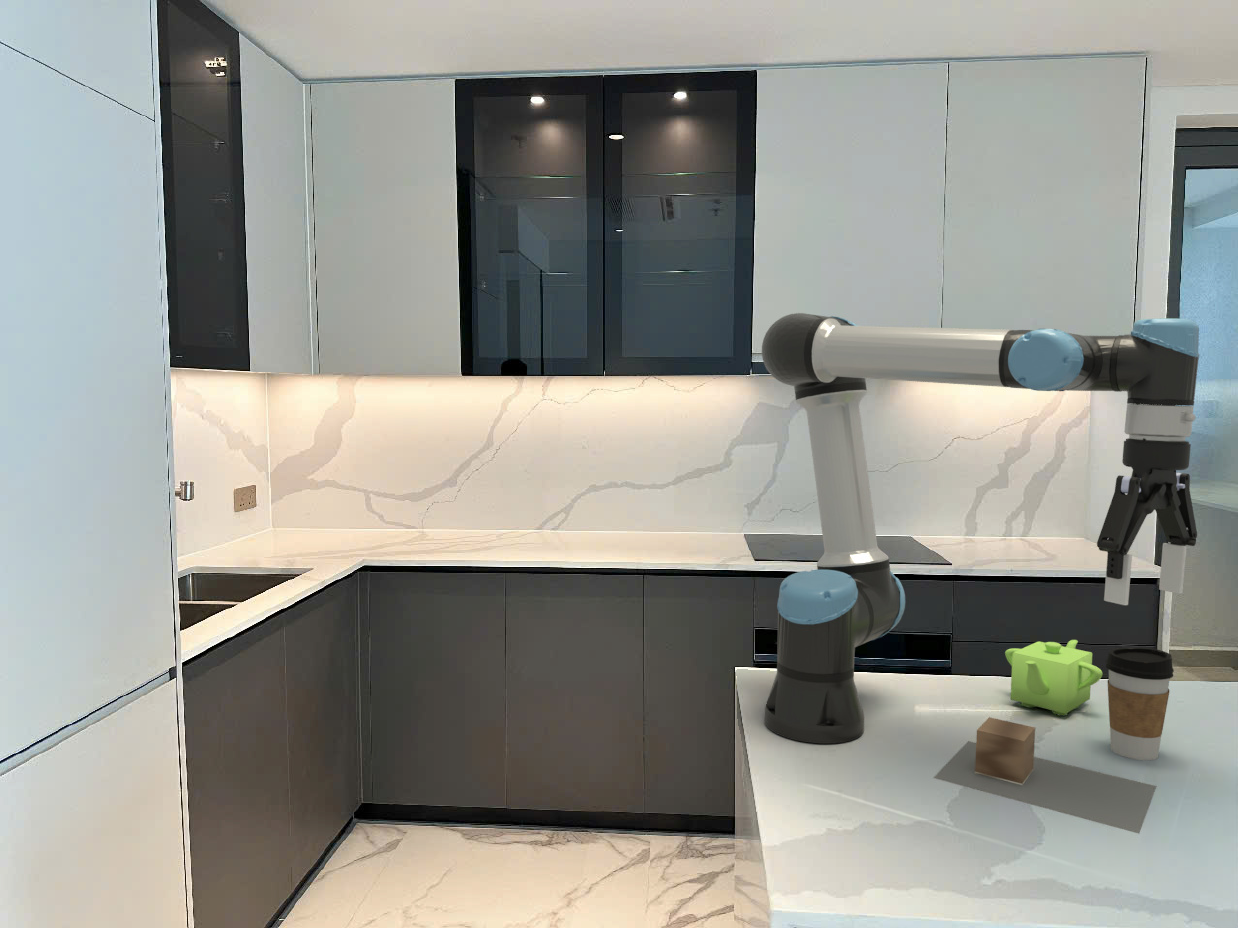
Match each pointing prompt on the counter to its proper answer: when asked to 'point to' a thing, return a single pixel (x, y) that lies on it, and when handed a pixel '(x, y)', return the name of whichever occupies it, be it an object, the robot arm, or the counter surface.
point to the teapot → (1052, 676)
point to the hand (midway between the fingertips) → (1144, 597)
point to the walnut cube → (1005, 750)
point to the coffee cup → (1137, 700)
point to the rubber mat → (1061, 790)
